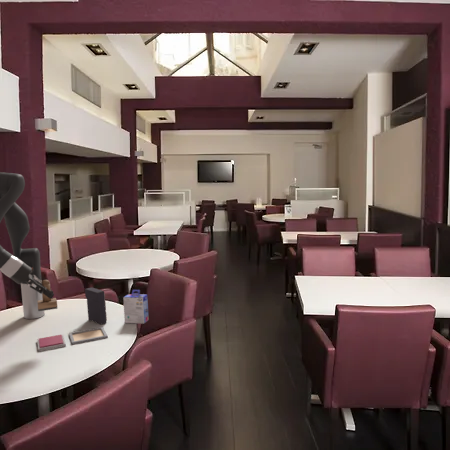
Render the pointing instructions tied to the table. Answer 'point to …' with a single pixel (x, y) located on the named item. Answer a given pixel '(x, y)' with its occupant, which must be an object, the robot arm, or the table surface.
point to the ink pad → (51, 342)
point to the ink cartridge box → (136, 308)
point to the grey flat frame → (87, 335)
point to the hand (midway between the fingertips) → (52, 295)
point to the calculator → (96, 305)
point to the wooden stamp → (46, 299)
